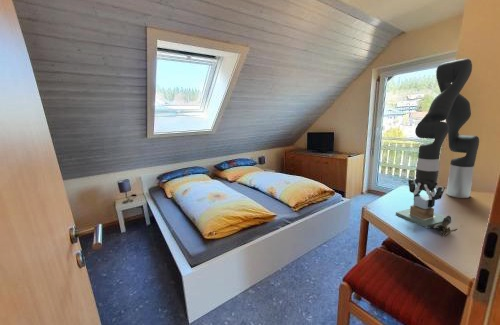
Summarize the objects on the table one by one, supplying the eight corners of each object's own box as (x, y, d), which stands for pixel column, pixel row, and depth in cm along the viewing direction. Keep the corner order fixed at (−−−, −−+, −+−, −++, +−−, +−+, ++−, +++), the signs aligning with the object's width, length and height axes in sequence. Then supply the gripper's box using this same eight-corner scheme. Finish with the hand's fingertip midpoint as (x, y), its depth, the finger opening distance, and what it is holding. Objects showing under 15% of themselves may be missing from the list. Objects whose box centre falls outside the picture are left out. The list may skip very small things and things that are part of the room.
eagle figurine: (463, 237, 80) (456, 222, 87) (453, 222, 80) (446, 209, 87) (439, 242, 84) (434, 228, 92) (429, 228, 84) (424, 215, 91)
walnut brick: (419, 211, 101) (420, 203, 100) (433, 216, 96) (434, 208, 95) (409, 213, 100) (410, 205, 99) (423, 219, 94) (424, 211, 93)
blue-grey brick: (421, 203, 100) (422, 195, 99) (433, 207, 95) (434, 198, 94) (413, 205, 98) (414, 196, 98) (425, 209, 94) (426, 200, 93)
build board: (417, 209, 107) (417, 206, 106) (450, 221, 93) (450, 218, 93) (395, 214, 103) (396, 212, 102) (427, 228, 90) (427, 225, 89)
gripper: (452, 170, 87) (447, 209, 91) (416, 164, 101) (413, 197, 105) (440, 173, 85) (435, 212, 89) (404, 166, 99) (401, 200, 102)
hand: (423, 204), depth 97 cm, fingers open, 5 cm apart
